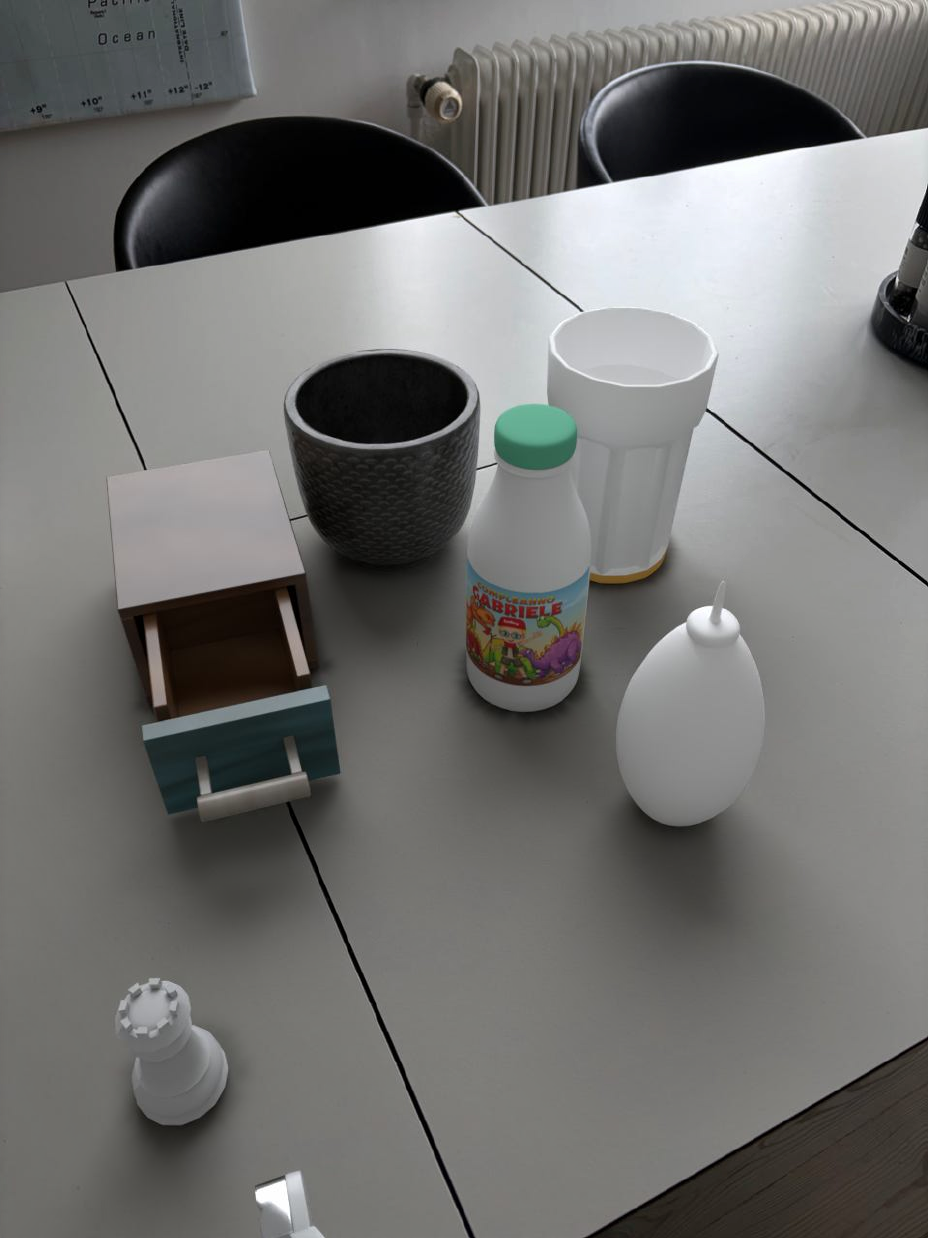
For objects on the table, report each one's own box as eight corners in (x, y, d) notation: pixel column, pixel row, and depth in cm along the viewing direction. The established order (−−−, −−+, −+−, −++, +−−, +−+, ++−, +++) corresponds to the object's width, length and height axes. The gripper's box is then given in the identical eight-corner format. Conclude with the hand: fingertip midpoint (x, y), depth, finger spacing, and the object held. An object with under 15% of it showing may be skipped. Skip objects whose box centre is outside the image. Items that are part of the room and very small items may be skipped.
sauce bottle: (586, 772, 63) (615, 549, 50) (697, 740, 65) (752, 517, 52) (642, 875, 57) (691, 653, 45) (762, 837, 59) (840, 614, 47)
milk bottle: (468, 633, 72) (468, 384, 58) (576, 635, 72) (602, 387, 58) (464, 714, 66) (463, 460, 53) (581, 717, 66) (611, 463, 52)
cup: (521, 511, 82) (530, 312, 70) (653, 496, 84) (684, 299, 72) (555, 603, 74) (572, 395, 62) (701, 584, 76) (745, 378, 64)
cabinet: (319, 667, 69) (305, 572, 64) (147, 704, 67) (117, 609, 61) (283, 540, 80) (269, 449, 74) (133, 568, 77) (105, 476, 71)
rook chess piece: (156, 1149, 47) (115, 1078, 41) (123, 1068, 49) (80, 991, 44) (245, 1095, 49) (216, 1019, 43) (208, 1019, 51) (177, 939, 46)
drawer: (355, 828, 59) (346, 754, 54) (174, 874, 56) (148, 801, 52) (300, 628, 71) (289, 553, 66) (150, 659, 69) (127, 584, 64)
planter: (378, 624, 73) (365, 476, 64) (267, 535, 80) (243, 392, 71) (515, 541, 79) (521, 398, 71) (402, 467, 87) (395, 328, 78)
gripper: (637, 1728, 21) (450, 1087, 31) (-481, 2261, 17) (-291, 1322, 27) (609, 1721, 26) (453, 1161, 35) (-287, 2144, 21) (-185, 1373, 31)
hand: (127, 1232), depth 31 cm, fingers open, 8 cm apart
